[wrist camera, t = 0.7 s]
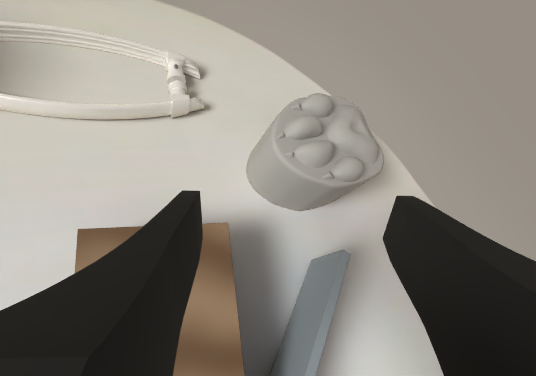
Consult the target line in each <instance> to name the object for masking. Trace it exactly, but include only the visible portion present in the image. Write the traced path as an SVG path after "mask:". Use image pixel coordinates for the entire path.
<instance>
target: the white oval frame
mask: <svg viewBox="0 0 536 376" xmlns="http://www.w3.org/2000/svg"><path fill="white" fill-rule="evenodd" d="M0 41H22V42H38V43H50V44H61V45H69V46H77V47H83V48H89V49H95V50H101V51H107V52H111V53H116V54H121V55H125V56H129V57H133V58H137V59H141V60H145V61H149V62H152V63H155V64H158V65H162V66H165V68H166V72H168V75H167V82H168V84H169V85H168V91H169V94H170V95H171V101H167V102H158V103H144V104H86V103H70V102H59V101H49V100H41V99H34V98H27V97H20V96H13V95H8V94H3V93H0V110H5V111H11V112H17V113H24V114H33V115H41V116H49V117H60V118H74V119H103V120H107V119H137V118H151V117H159V116H167V115H170V118H173V117H178V116H182V115H187V114H188V112H191V111H195V110H199V109H203V108H205V107H204V102H202V100H201V99H198V98H196V97H195V98H190V97H189V95H186V94H187V86H186V79H185V75H184V74H183V73H185V74H188V75H190V76H193V77H195V78H197V79H200V73H199V69H198V67H197V65H196V64H195V63H194V62H192V61H191V60H188V59H186V58H184V56H182V55H180V54H177V53H175V52H172V51H169V50H167V49H166V51H163V50H160V49H157V48H154V47H151V46H148V45H144V44H140V43H137V42H133V41H130V40H126V39H122V38H117V37H113V36H109V35H104V34H99V33H94V32H89V31H83V30H78V29H72V28H65V27H58V26H50V25H41V24H31V23H21V22H5V21H0Z"/></svg>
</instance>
